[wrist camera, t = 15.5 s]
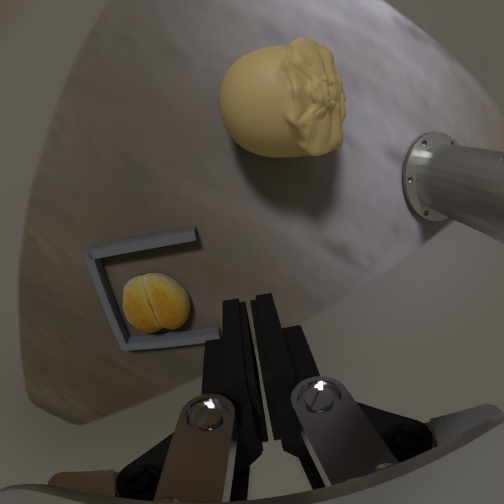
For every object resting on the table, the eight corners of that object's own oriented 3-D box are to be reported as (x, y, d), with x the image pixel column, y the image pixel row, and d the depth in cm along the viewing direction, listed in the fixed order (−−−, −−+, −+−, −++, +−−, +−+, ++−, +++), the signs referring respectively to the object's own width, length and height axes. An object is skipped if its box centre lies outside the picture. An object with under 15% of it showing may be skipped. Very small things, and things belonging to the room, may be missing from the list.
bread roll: (197, 319, 39) (195, 336, 35) (137, 327, 39) (130, 344, 35) (181, 264, 36) (176, 278, 32) (118, 275, 36) (108, 289, 32)
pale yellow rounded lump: (329, 152, 32) (371, 157, 22) (226, 161, 32) (226, 169, 22) (318, 60, 28) (354, 31, 18) (215, 66, 28) (210, 33, 18)
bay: (195, 226, 34) (194, 230, 33) (220, 333, 40) (220, 340, 38) (89, 247, 34) (83, 251, 32) (125, 343, 39) (122, 351, 38)
